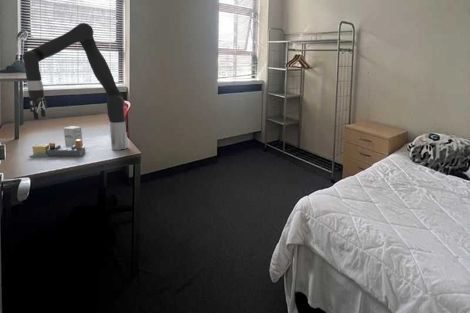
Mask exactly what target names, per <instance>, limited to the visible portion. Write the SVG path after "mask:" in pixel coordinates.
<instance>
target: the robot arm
mask: <svg viewBox="0 0 470 313" xmlns="http://www.w3.org/2000/svg"><path fill="white" fill-rule="evenodd" d="M76 43H80V45H81V47H82V49H83V50H84V53H85V56H86V58H87V61H88V64H89V66H90V69H91V70H92V72H93V74H94V76H95V78H96V80H97V81H98V82H99V84H100V85H101V87H102V88H103V89H104V91H105V93H106V95H107V100H106V110H107V116H108V117H107V118H108V122H109V133H110V144H111V150H113V151H122V150H121V149H125V150H127V149H128V148H127V147H129V142H128V132H127V128H126V127H127V126H126V117H125V113H124V111H125V110H124V106H125V104H126V103H125V99H124V97H123V95H122V93H121V92H120V90H119V88H118V86H117V84H116V82H115V79H114V77H113V74H112V72H111V69H110V67H109V65H108V62H107V60H106V58H105V57H104V56H103V54H102V53H101V51H100V50H99V48H98V46H97V43H96V41H95V38H94V29H93V27H92V26H91V25H89V24H88V23H86V22H82V23H78V24H77V25H76V26H75V27H73V28H72V29H70V30H69V31H68V32H65V33H64V34H62V35H60V36H57V37H56V38H52V39H51V40H48V41H46V42H44V43H42V44H41V45H39V46H37V47H35V48H33V49H30V50H28V51H25V52H24V53H23V54H22V59H23V60H22V61H23V65H24V69H25V79H26V86H27V93H28V97H29V99H31V100H29V101H28V105H29V110H30V111H29V112H30V113H32V114H33V119H34V121H35V120H37V121H38V120H39V119H40V117H39V113H38V112H39V111H40V116H41V118H46V117H47V114H46V111H47V110H46V109H48V105H47V101H46V98H45V92H44V90H45V89H44V83H43V80H42V75H41V71H40V62H41V61H43V60H45V59H46V58H47V59H48V58H50V57H53V56H54V55H56V54H58V53H60V52H62V51H63V50H65V49H67V48H68V47H69V46H72V45H74V44H76ZM126 148H127V149H126Z"/></svg>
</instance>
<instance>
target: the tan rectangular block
mask: <svg viewBox="0 0 470 313" xmlns="http://www.w3.org/2000/svg"><path fill="white" fill-rule="evenodd" d="M48 149H50V147H49V144H35V145H32V155H47V150H48Z"/></svg>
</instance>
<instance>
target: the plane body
mask: <svg viewBox="0 0 470 313" xmlns="http://www.w3.org/2000/svg"><path fill="white" fill-rule="evenodd" d="M82 141H83V138H82V139H77V140H76V141H75V142H76V145H73V146H72V147H66V146H61V144H58V145H56V143H55V142H49V143H48V145H49V149H48V150H47V156H48V157H47V158H82V157H83V155H85V154H86V147H85V146H82Z"/></svg>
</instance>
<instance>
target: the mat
mask: <svg viewBox="0 0 470 313" xmlns="http://www.w3.org/2000/svg"><path fill="white" fill-rule="evenodd" d="M29 158H49V157H48V156H47V155H33V154H31V155H30V156H29Z"/></svg>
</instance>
